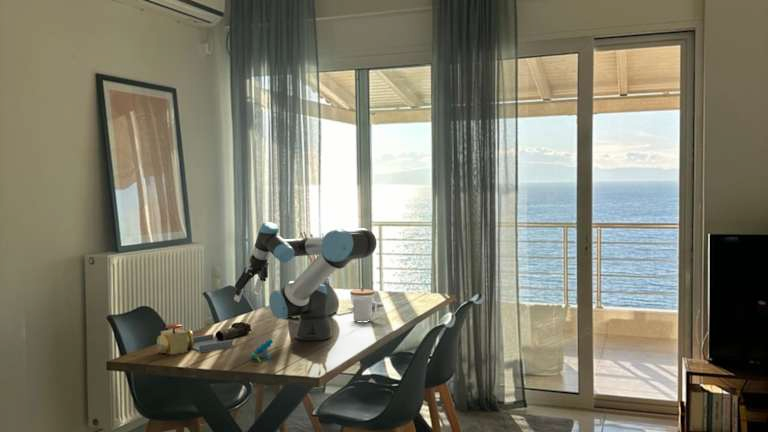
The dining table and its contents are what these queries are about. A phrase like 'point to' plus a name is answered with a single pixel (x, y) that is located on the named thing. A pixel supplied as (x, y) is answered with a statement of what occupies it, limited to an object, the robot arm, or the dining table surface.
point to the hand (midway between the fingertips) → (246, 296)
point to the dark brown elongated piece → (233, 331)
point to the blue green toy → (262, 350)
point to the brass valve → (175, 340)
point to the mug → (363, 308)
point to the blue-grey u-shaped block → (210, 343)
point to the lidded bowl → (362, 293)
